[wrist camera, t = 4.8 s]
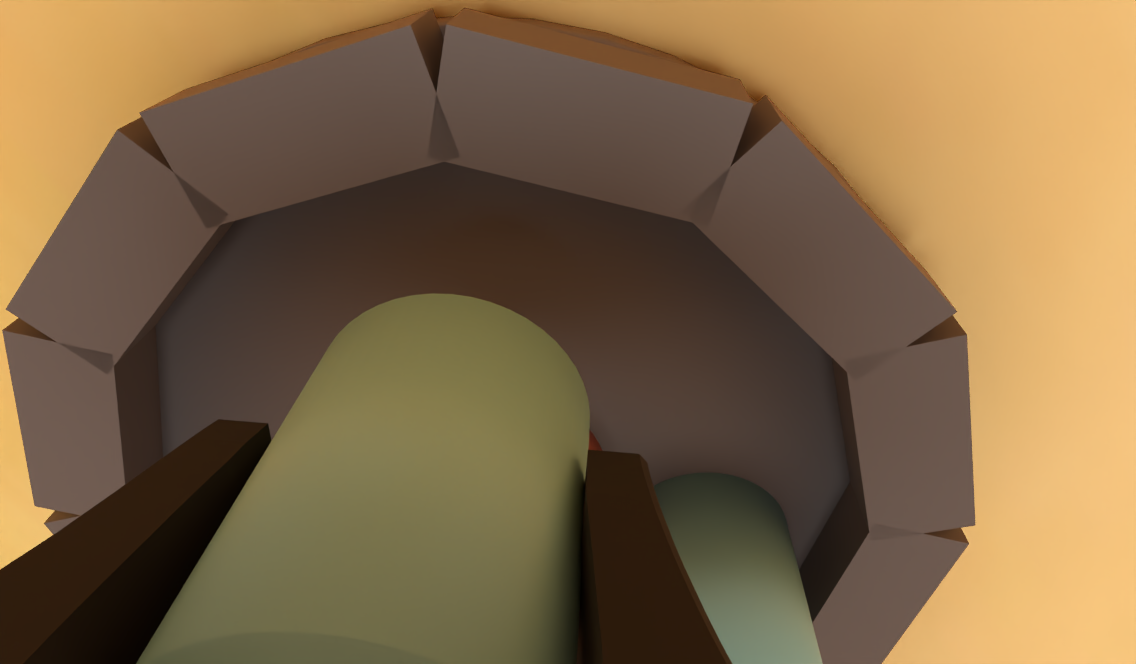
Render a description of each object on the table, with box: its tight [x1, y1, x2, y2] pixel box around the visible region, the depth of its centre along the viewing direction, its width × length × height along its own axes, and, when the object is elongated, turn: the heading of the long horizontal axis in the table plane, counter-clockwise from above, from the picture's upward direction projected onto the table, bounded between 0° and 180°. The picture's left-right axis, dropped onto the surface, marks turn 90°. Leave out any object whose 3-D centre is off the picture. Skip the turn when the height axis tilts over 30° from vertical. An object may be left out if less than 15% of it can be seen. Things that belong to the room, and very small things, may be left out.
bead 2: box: [654, 473, 823, 664], centre depth 16 cm, size 4×4×5 cm
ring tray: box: [2, 8, 975, 664], centre depth 17 cm, size 19×19×2 cm
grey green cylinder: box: [136, 293, 590, 664], centre depth 8 cm, size 4×4×5 cm
